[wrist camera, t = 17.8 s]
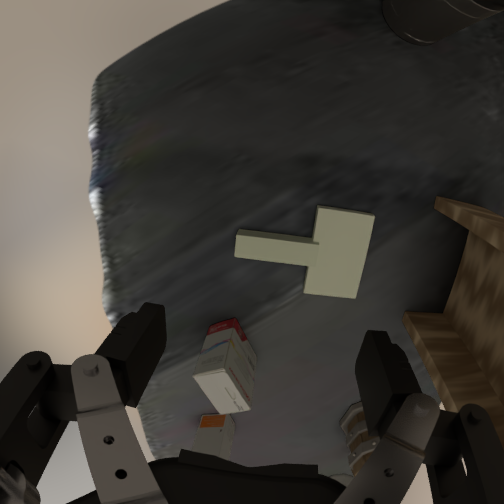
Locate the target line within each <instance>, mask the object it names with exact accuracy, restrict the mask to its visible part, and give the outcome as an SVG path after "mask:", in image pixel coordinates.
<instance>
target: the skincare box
mask: <svg viewBox="0 0 504 504" xmlns="http://www.w3.org/2000/svg"><path fill="white" fill-rule="evenodd" d="M234 431H235V423H234V421H233V419H232V417H231V416H230V414H223V415H221V414H204V415H202V417H201V420H200V423H199V427H198V430H197V433H196V437H195V440H194V443H193V447H192V450H191V451H194V452H199V453H204V454H210V455H215V456H217V457H220V458H223V459H225V460H228V461H229V457H230V451H231V446H232V441H233V436H234Z"/></svg>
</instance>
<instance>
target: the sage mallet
mask: <svg viewBox="0 0 504 504" xmlns="http://www.w3.org/2000/svg"><path fill="white" fill-rule="evenodd" d="M374 218H375V216H374V215H373V214H372V213H366V212H360V211H354V210H347V209H341V208H334V207H327V206H320V205H317V210H316V216H315V223H314V229H313V235H312V238H308V237H300V236H293V235H285V234H277V233H268V232H260V231H252V230H244V229H239V230H238V232H237V235H236V245H235V257H239V258H247V259H255V260H263V261H271V262H280V263H288V264H296V265H304V266H307V269H306V275H305V280H304V286H303V292H304V293H307V294H316V295H326V296H335V297H345V298H356V294H357V291H358V287H359V283H360V279H361V275H362V271H363V267H364V263H365V259H366V255H367V250H368V246H369V242H370V237H371V232H372V228H373V223H374Z"/></svg>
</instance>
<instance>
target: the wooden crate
mask: <svg viewBox="0 0 504 504" xmlns="http://www.w3.org/2000/svg"><path fill="white" fill-rule="evenodd" d="M434 209H436V210H437V211H439V212H441V213H442V214H444V215H446V216H447V217H449V218H451V219H452V220H454V221H456V222H457V223H459V224H460V225H462V226H464V227H465V228H467V229H468V230H469V234H468V237H467V241H466V245H465V248H464V252H463V255H462V259H461V262H460V265H459V269H458V272H457V275H456V278H455V281H454V284H453V287H452V290H451V293H450V295H449V298H448V301H447V304H446V306H445V309H444V311H443V313H426V312H410V311H405V313H404V316H403V319H402V322H403V324H404V326H405V328H406V330H407V331H408V333H409V335H410V337H411V339H412V341H413V343H414V345H415V347H416V349H417V351H418V353H419V355H420V357H421V359H422V361H423V363H424V365H425V367H426V369H427V371H428V373H429V375H430V377H431V379H432V381H433V383H434V386H435V388H436V390H437V392H438V394H439V396H440V399H441V401H442V403H443V405H444V408H445V410H446V411H451V412H456V413H458V412H459V410H460V409H461V408H462V406H464V405H465V404H469V403H472V404H477V405H479V406H481V407H483V408H484V409H485V410H486V411H487V413H488V414H489V416H490V419H491V421H492V423H493V425H494V428H495V430H496V432H497V435H498V437H499V439H500V442H501V444H502V447H503V449H504V218H503V217H501V216H500V215H498V214H496V213H494V212H492V211H490V210H488V209H485V208H483V207H480V206H476V205H472V204H468V203H464V202H460V201H456V200H452V199H448V198H443V197H439V196H436V200H435V205H434Z"/></svg>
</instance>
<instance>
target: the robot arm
mask: <svg viewBox="0 0 504 504" xmlns="http://www.w3.org/2000/svg"><path fill="white" fill-rule="evenodd" d="M503 10H504V0H383V3H382V11H383V15H384V18H385V20H386V22H387V23H388V25H389V26H390V28H391V29H392V30H393V31H394V32H395V33H396V34H397V35H398V36H399V37H401V38H402V39H404V40H406V41H407V42H410V43H412V44H416V45H422V46H426V45H431V44H433V43H435V42H437V41H439V40H441V39H443V38H445V37H447V36H449V35H451V34H453V33H455V32H457V31H459V30H461V29H464V28H466V27H468V26H470V25H472V24H474V23H476V22H479V21H481V20H483V19H485V18H487V17H489V16H492V15H494V14H496V13H499V12H501V11H503ZM166 341H167V334H166V319H165V308H164V306H163V305H159V304H153V303H148V302H145V303H144V304H143V305H142V307H141V308H140V309H139V311H138V312H137V313H135V312H131V313H129V314H127V315H126V316H124V317H122V318H121V320H120V321H119V322H118V323H117V325H116V327H114V329H113V330H112V331H111V333H110V334H109V335H108V336H107V338H106V339H105V340H104V342H103V343H102V344H101V346H100V347H99V348H98V350H97V351H96V352H95V354H89V355H84V356H81V357H79V358H78V359H76V360H75V361H74V363H73V364H72V365H59V364H53V363H52V361H51V358H50V356H49V355H48V354H47V353H44V352H42V351H33V352H29V353H27V354H25V355H24V356H22V357H21V358H20V359H19V361H18V362H17V363H16V364H15V365H14V367H13V368H12V369H11V370H10V372H9V373H8V374H7V375H6V377H5V378H4V379H3V380H2V382H1V383H0V504H40V501H41V500H40V494H39V492H38V490H37V488H36V487H37V484H38V482H39V480H40V478H41V476H42V474H43V472H44V470H45V468H46V466H47V464H48V462H49V459H50V457H51V456H52V454H53V452H54V450H55V448H56V446H57V444H58V442H59V440H60V438H61V436H62V434H63V432H64V431H65V429H66V427H67V425H68V423H69V421H77V422H78V426H79V430H80V435H81V438H82V443H83V447H84V450H85V454H86V458H87V461H88V465H89V468H90V472H91V475H92V478H93V481H94V484H95V487H96V490H95V491H92V492H90V493H89V494H86V495H84V496H82V497H80V498H78V499H75V500H73V501H71V502H69V503H67V504H400V503H401V501H402V500H403V498H404V496H405V494H406V492H407V491H408V489H409V487H410V485H411V483H412V481H413V480H414V478H415V476H416V473H417V472H418V470H419V468H420V466H421V464H422V463H423V464H426V468H427V473H428V478H429V482H430V488H431V492H432V498H433V504H504V449H503V447H502V444H501V442H500V439H499V437H498V435H497V432H496V430H495V428H494V425H493V423H492V421H491V419H490V416H489V414H488V413H487V411H486V410H485V409H484V408H483V407H481V406H479V405H477V404H472V403H469V404H465V405H464V406H462V408H461V409H460V410H459V412H458V413H456V412H451V411H445V410H441V409H440V407H439V405H438V403H437V402H436V400H434V399H433V398H432V397H430V396H429V395H426V394H423V393H422V391H421V388H420V386H419V384H418V381H417V379H416V377H415V374H414V372H413V370H412V367H411V365H410V363H408V358H407V356H406V354H405V352H404V351H403V350H402V349H401V348H400V347H399V346H398V345H397V344H392V343H391V340H390V338H389V336H388V333H387V332H386V331H375V330H368V331H367V332H366V334H365V337H364V340H363V343H362V346H361V349H360V351H359V354H358V357H357V360H356V365H355V375H356V380H357V384H358V388H359V393H360V397H361V402H362V406H363V411H364V416H365V420H366V425H367V430H368V435H369V437H370V436H379V438H380V442H379V443H378V445H377V446H376V448H375V449H374V451H373V452H372V454H371V455H370V457H369V458H368V459H367V461H366V462H365V464H364V465H363V466H362V468H361V469H360V471H359V472H358V473H357V475H356V476H355V477H354V479H353V480H352V481H351V482H350V484H349V485H348V486H347V487H346V486H345V485H343V484H342V483H340V482H338V481H337V480H335V479H332V478H330V477H327V476H324V475H321V474H318V465H305V464H285V463H284V464H277V465H269V466H260V467H245V466H242V465H239V464H236V463H234V462H231V461H228V460H225V459H223V458H220V457H217V456H215V455H210V454H204V453H199V452H194V451H189V450H184V449H181V451H180V454H179V457H172V458H164V459H158V460H155V461H151V462H149V463H147V461H146V459H145V456H144V454H143V452H142V450H141V447H140V445H139V443H138V440H137V438H136V435H135V433H134V431H133V428H132V425H131V423H130V421H129V418H128V415H127V413H126V410H125V406H126V405H127V406H130V407H134V408H136V407H137V405H138V403H139V400H140V398H141V396H142V394H143V392H144V390H145V388H146V386H147V384H148V382H149V380H150V378H151V376H152V374H153V372H154V370H155V368H156V366H157V364H158V362H159V360H160V358H161V356H162V354H163V352H164V350H165V347H166ZM35 406H36V407H35ZM34 407H35V408H34ZM33 409H34V410H33ZM32 410H33V411H32ZM31 412H32V413H31ZM30 413H31V414H30ZM29 415H30V416H29ZM28 417H29V418H28ZM462 458H464V462H465V465H466V469H467V476H466V473H465V470H464V466H463V463H462Z"/></svg>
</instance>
